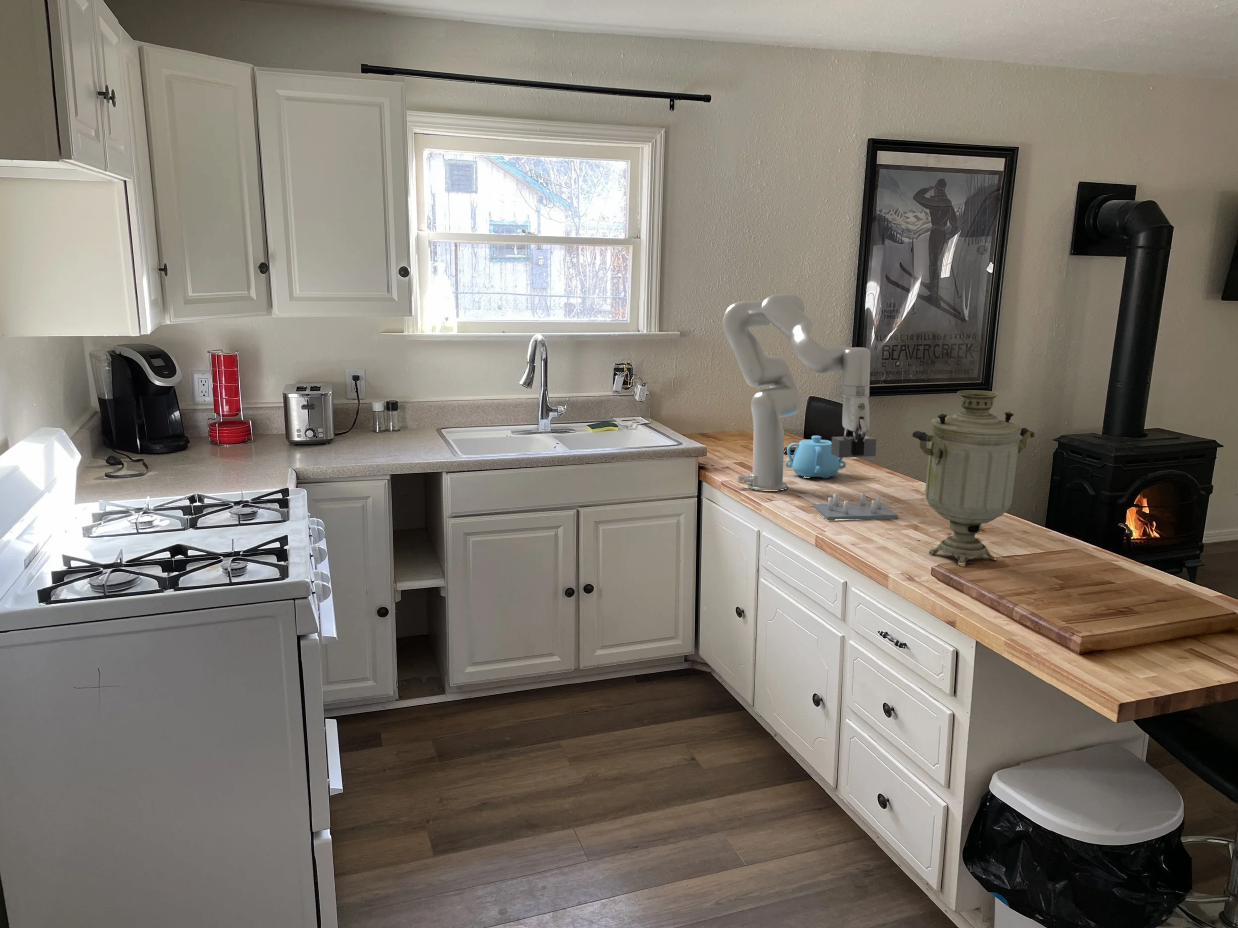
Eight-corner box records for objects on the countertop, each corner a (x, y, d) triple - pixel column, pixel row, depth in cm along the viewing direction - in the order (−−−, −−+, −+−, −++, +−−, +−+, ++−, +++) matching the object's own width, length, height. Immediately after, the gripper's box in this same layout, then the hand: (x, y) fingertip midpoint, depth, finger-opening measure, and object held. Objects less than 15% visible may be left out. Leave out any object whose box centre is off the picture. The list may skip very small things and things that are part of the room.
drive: (838, 457, 261) (839, 439, 260) (831, 453, 267) (831, 436, 266) (875, 456, 262) (876, 438, 261) (867, 452, 268) (867, 435, 267)
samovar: (996, 537, 236) (1009, 383, 228) (1046, 569, 211) (1062, 397, 202) (882, 539, 236) (891, 384, 227) (918, 572, 210) (929, 399, 202)
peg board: (827, 520, 252) (828, 504, 252) (812, 508, 266) (813, 492, 265) (897, 518, 254) (898, 502, 253) (879, 506, 268) (880, 490, 267)
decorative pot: (815, 468, 318) (817, 430, 315) (850, 477, 305) (851, 437, 302) (780, 474, 310) (781, 435, 307) (814, 483, 296) (815, 442, 294)
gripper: (880, 394, 253) (877, 458, 257) (857, 387, 270) (855, 447, 273) (854, 395, 252) (852, 459, 256) (832, 388, 269) (830, 448, 273)
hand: (853, 452), depth 265 cm, fingers closed on drive, 6 cm apart
